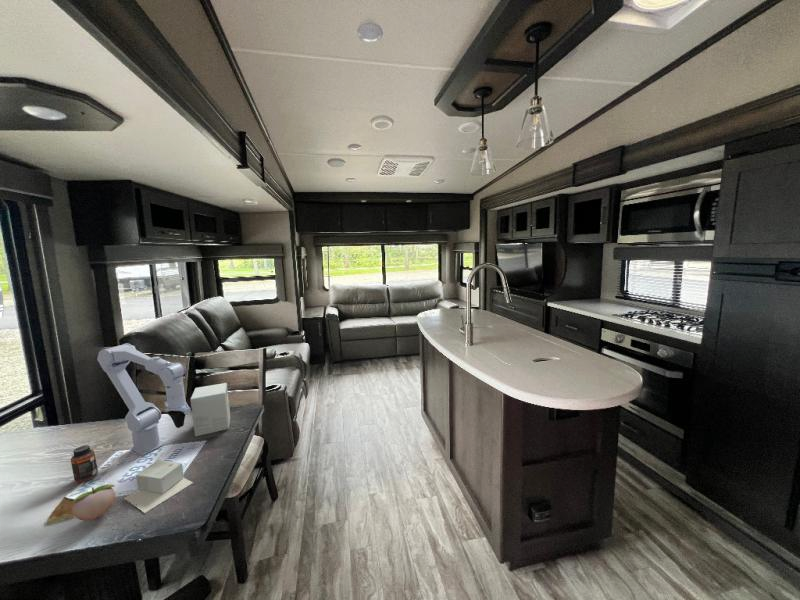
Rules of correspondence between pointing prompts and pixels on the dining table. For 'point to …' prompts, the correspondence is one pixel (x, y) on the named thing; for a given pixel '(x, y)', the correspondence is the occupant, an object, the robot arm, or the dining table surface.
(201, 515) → the dining table surface
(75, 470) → the supplement bottle
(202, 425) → the supplement box
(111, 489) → the decorative fruit
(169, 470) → the small box
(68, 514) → the tan flat wedge
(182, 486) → the mat
